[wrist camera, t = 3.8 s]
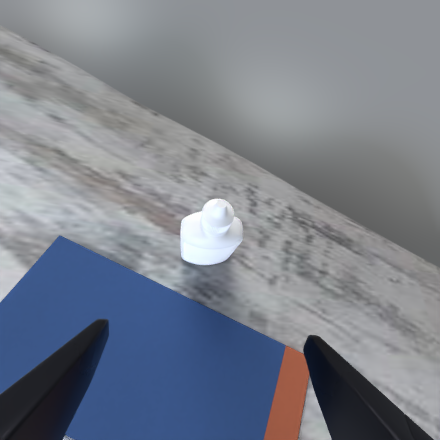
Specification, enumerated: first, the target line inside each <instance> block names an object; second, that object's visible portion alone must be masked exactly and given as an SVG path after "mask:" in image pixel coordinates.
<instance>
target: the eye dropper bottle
mask: <svg viewBox="0 0 440 440" xmlns="http://www.w3.org/2000/svg"><path fill="white" fill-rule="evenodd" d="M242 239H243V226H242V222H241V221H240V220H239V219H238V218H237V217H235V216H234V210H233V207H232V206H231V205H230V204H229V203H228V202H226V201H225V200H223V199H213V200H210V201H208V202H207V203H206V204H205V205H204V207H203V209H202V212H197V213H194V214H191V215H189V216H187V217H185V218H184V219H183V220H182V222H181V257H182V258H183V259H184V260H185V261H187V262H190V263H193V264H198V265H212V264H217V263H220V262H223V261H225V260H227V259H228V258H229V256H230V255H231V254H232V253H233V252H234V250H235V249H236V248H237V247H238V245H239V244H240V243H241V241H242Z"/></svg>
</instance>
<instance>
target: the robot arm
mask: <svg viewBox="0 0 440 440" xmlns="http://www.w3.org/2000/svg"><path fill="white" fill-rule="evenodd" d="M108 337H109V320H108V319H97V320H95V321H94V322H93V323H91V324H90V325H89V326H87V327H86V328H85V329H84V330H82V331H81V332H80V333H78V334H77V335H76V336H75V337H73V338H72V339H71V340H69V341H68V342H67V343H66V344H64V345H63V346H62V347H60V348H59V349H58V350H57V351H55V352H54V353H53V354H51V355H50V356H49V357H47V358H46V359H45V360H44V361H42V362H41V363H40V364H38V365H37V366H36V367H35V368H33V369H32V370H31V371H29V372H28V373H27V374H26V375H24V376H23V377H22V378H20V379H19V380H18V381H17V382H15V383H14V384H13V385H11V386H10V387H9V388H8V389H6V390H5V391H4V392H2V393H1V394H0V440H62V439H63V437H64V435H65V433H66V431H67V429H68V427H69V425H70V423H71V421H72V419H73V417H74V415H75V413H76V411H77V409H78V407H79V405H80V403H81V401H82V399H83V397H84V395H85V393H86V391H87V389H88V387H89V385H90V383H91V381H92V378H93V376H94V374H95V371H96V368H97V366H98V363H99V361H100V358H101V356H102V353H103V350H104V348H105V345H106V343H107V340H108ZM303 351H304V356H305V359H306V363H307V367H308V370H309V374H310V377H311V381H312V385H313V388H314V391H315V394H316V397H317V400H318V403H319V405H320V408H321V411H322V413H323V416H324V419H325V422H326V424H327V427H328V430H329V433H330V435H331V438H332V440H434V439H433V438H431V437H430V436H429V435H428V434H427V433H426V432H425V431H423V430H422V429H421V428H420V427H419V426H418V425H417V424H416V423H414V422H413V421H412V420H411V419H410V418H409V417H408V416H407V415H405V414H404V413H403V412H402V411H401V410H400V409H399V408H398V407H397V406H396V405H394V404H393V403H392V402H391V401H390V400H389V399H388V398H387V397H386V396H385V395H383V394H382V393H381V392H380V391H379V390H378V389H377V388H376V387H375V386H373V385H372V384H371V383H370V382H369V381H368V380H367V379H366V378H365V377H363V376H362V375H361V374H360V373H359V372H358V371H357V370H356V369H355V368H354V367H352V366H351V365H350V364H349V363H348V362H347V361H346V360H345V359H344V358H342V357H341V356H340V355H339V354H338V353H337V352H336V351H335V350H334V349H333V348H331V347H330V346H329V345H328V344H327V343H326V342H325V341H324V340H323V339H321V338H320V337H319V336H317V335H309V336H308V338H307V340H306V343H305V345H304V349H303Z"/></svg>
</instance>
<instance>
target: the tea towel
mask: <svg viewBox="0 0 440 440" xmlns="http://www.w3.org/2000/svg"><path fill="white" fill-rule="evenodd" d="M97 319H108V320H109V337H108V340H107V343H106V345H105V348H104V350H103V353H102V356H101V358H100V361H99V363H98V366H97V368H96V371H95V374H94V376H93V378H92V381H91V383H90V385H89V387H88V389H87V391H86V393H85V395H84V397H83V399H82V401H81V403H80V405H79V407H78V409H77V411H76V413H75V415H74V417H73V419H72V421H71V423H70V425H69V427H68V429H67V431H66V433H65V435H67V436H69V437H71V438H73V439H75V440H298V434H299V428H300V423H301V417H302V412H303V406H304V401H305V395H306V389H307V384H308V378H309V370H308V367H307V363H306V359H305V356H304V354H302V353H300V352H298V351H296V350H294V349H292V348H290V347H288V346H286V345H284V344H282V343H280V342H278V341H276V340H274V339H271V338H269V337H267V336H265V335H263V334H261V333H259V332H257V331H255V330H253V329H251V328H249V327H247V326H245V325H243V324H241V323H239V322H237V321H235V320H232V319H230V318H228V317H226V316H224V315H222V314H220V313H218V312H216V311H214V310H212V309H210V308H208V307H206V306H204V305H202V304H200V303H198V302H196V301H193V300H191V299H189V298H187V297H185V296H183V295H181V294H179V293H177V292H175V291H173V290H171V289H169V288H167V287H165V286H163V285H161V284H159V283H157V282H154V281H152V280H150V279H148V278H146V277H144V276H142V275H140V274H138V273H136V272H134V271H132V270H130V269H128V268H126V267H124V266H122V265H120V264H118V263H115V262H113V261H111V260H109V259H107V258H105V257H103V256H101V255H99V254H97V253H95V252H93V251H91V250H89V249H87V248H85V247H83V246H81V245H79V244H76V243H74V242H72V241H70V240H68V239H66V238H64V237H62V236H59V237H58V238H57V239H56V240H55V241H54V242H53V244H52V245H51V246H50V247H49V248H48V249H47V250H46V252H45V253H44V254H43V255H42V256H41V257H40V258H39V259H38V261H37V262H36V263H35V264H34V265H33V266H32V267H31V269H30V270H29V271H28V272H27V273H26V274H25V275H24V277H23V278H22V279H21V280H20V281H19V282H18V283H17V284H16V286H15V287H14V288H13V289H12V290H11V291H10V292H9V294H8V295H7V296H6V297H5V298H4V299H3V300H2V302H1V303H0V394H1V393H2V392H4V391H5V390H6V389H8V388H9V387H10V386H11V385H13V384H14V383H15V382H17V381H18V380H19V379H20V378H22V377H23V376H24V375H26V374H27V373H28V372H29V371H31V370H32V369H33V368H35V367H36V366H37V365H38V364H40V363H41V362H42V361H44V360H45V359H46V358H47V357H49V356H50V355H51V354H53V353H54V352H55V351H57V350H58V349H59V348H60V347H62V346H63V345H64V344H66V343H67V342H68V341H69V340H71V339H72V338H73V337H75V336H76V335H77V334H78V333H80V332H81V331H82V330H84V329H85V328H86V327H87V326H89V325H90V324H91V323H93V322H94V321H95V320H97Z"/></svg>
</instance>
